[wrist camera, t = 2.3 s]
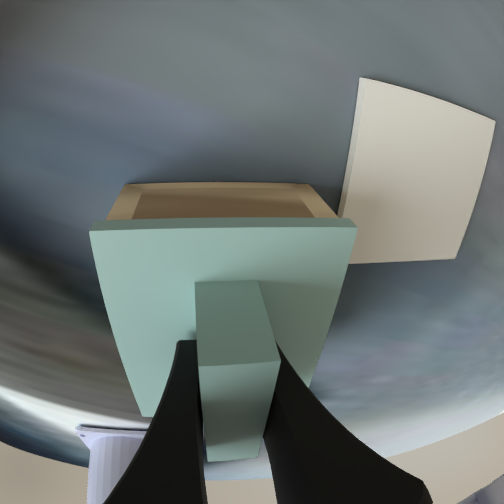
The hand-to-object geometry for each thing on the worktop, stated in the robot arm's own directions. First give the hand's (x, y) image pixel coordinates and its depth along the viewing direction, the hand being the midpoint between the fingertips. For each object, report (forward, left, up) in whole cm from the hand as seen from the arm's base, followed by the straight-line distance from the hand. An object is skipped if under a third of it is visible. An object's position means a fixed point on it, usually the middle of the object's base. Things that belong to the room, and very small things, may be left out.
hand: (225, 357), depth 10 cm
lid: (0, 0, -1) cm, 1 cm away
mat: (+5, -9, -4) cm, 11 cm away
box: (0, 0, -4) cm, 4 cm away
